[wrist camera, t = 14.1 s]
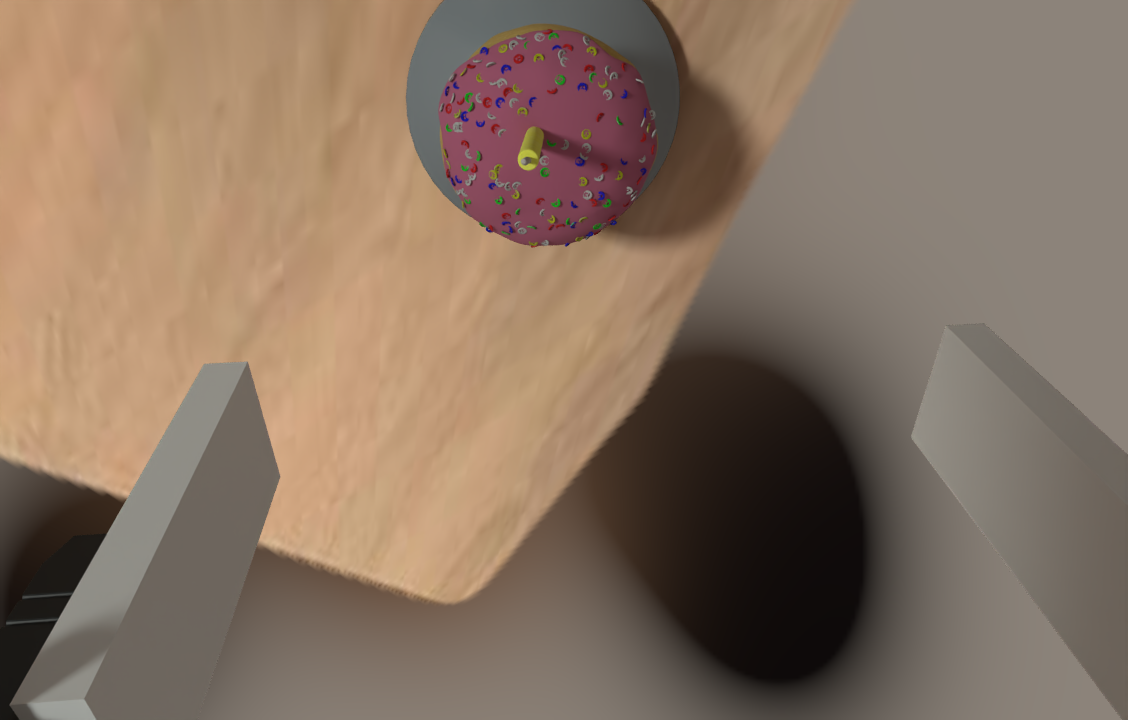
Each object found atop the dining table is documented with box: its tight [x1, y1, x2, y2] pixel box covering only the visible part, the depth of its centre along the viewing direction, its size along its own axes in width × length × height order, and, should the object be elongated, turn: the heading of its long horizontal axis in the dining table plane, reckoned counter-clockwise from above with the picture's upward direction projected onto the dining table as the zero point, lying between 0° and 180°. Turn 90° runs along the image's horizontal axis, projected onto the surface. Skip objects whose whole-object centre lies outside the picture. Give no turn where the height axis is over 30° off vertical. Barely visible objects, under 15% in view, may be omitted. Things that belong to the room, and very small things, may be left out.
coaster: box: [406, 0, 680, 217], centre depth 33 cm, size 12×12×1 cm
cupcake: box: [438, 24, 658, 247], centre depth 28 cm, size 9×8×12 cm
